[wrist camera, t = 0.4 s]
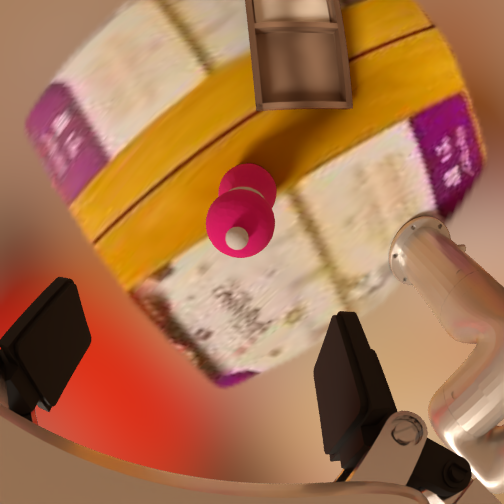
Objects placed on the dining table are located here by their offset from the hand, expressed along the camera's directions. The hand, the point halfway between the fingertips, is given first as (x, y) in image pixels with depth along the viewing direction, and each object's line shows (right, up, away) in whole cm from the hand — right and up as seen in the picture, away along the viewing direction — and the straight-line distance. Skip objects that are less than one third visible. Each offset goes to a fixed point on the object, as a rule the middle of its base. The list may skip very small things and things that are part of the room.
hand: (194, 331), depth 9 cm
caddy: (+8, +32, +20) cm, 39 cm away
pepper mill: (+2, +12, +30) cm, 32 cm away
